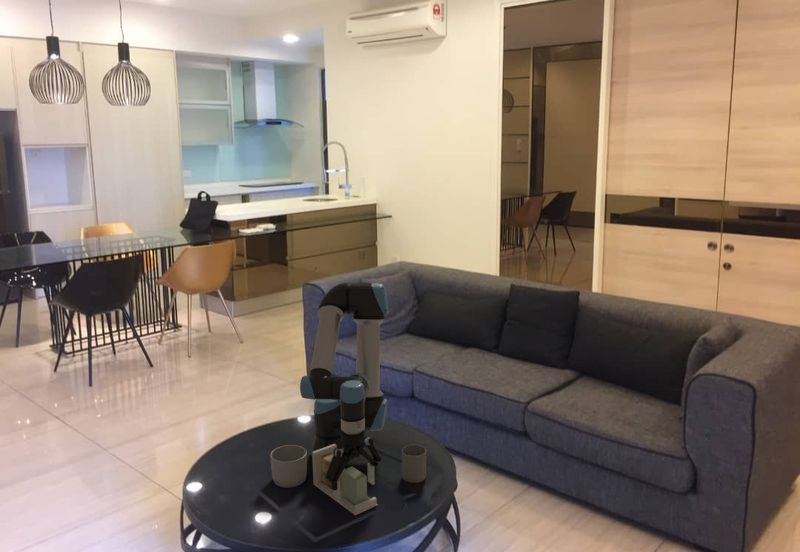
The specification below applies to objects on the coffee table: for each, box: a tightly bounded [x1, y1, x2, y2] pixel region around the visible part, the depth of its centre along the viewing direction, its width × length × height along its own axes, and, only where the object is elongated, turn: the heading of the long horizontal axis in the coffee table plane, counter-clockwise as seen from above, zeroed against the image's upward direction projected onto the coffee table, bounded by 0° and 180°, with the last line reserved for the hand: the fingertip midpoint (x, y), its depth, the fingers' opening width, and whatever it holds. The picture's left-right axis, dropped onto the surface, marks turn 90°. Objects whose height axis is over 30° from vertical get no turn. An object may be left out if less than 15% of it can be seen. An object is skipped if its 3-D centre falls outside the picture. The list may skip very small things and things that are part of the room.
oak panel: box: [321, 453, 346, 491], centre depth 220 cm, size 8×4×10 cm, turn 40°
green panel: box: [342, 466, 368, 506], centre depth 211 cm, size 8×4×10 cm, turn 40°
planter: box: [269, 444, 308, 489], centre depth 225 cm, size 12×12×11 cm
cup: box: [401, 444, 427, 484], centre depth 228 cm, size 8×8×10 cm
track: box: [312, 444, 379, 516], centre depth 215 cm, size 24×9×13 cm, turn 40°
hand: (354, 490), depth 212 cm, fingers open, 13 cm apart
